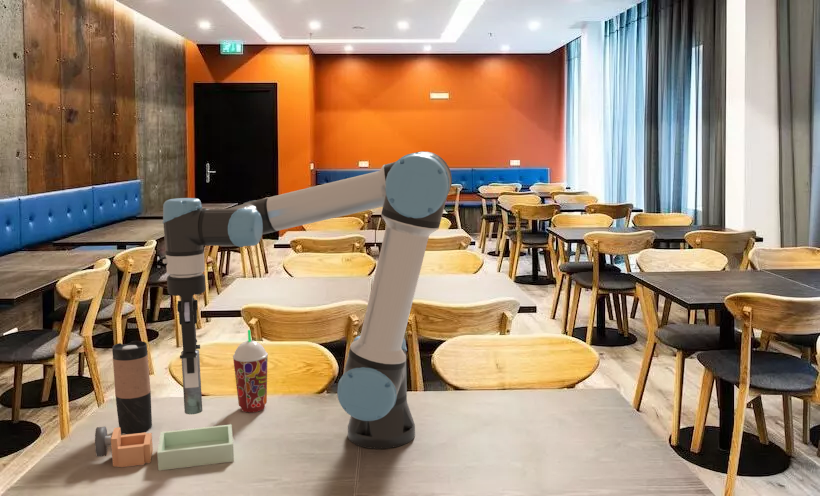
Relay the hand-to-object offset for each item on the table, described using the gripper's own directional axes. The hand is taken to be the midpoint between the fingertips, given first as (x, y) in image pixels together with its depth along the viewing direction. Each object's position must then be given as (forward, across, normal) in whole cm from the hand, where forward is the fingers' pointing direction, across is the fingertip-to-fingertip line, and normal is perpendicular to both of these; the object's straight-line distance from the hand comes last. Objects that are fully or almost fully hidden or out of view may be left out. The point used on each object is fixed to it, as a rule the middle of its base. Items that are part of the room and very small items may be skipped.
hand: (192, 383), depth 159 cm
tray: (+16, 0, 0) cm, 16 cm away
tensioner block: (+16, -2, -14) cm, 22 cm away
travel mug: (+16, -19, -14) cm, 28 cm away
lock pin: (+6, 0, 0) cm, 6 cm away
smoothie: (+16, -24, +13) cm, 32 cm away
